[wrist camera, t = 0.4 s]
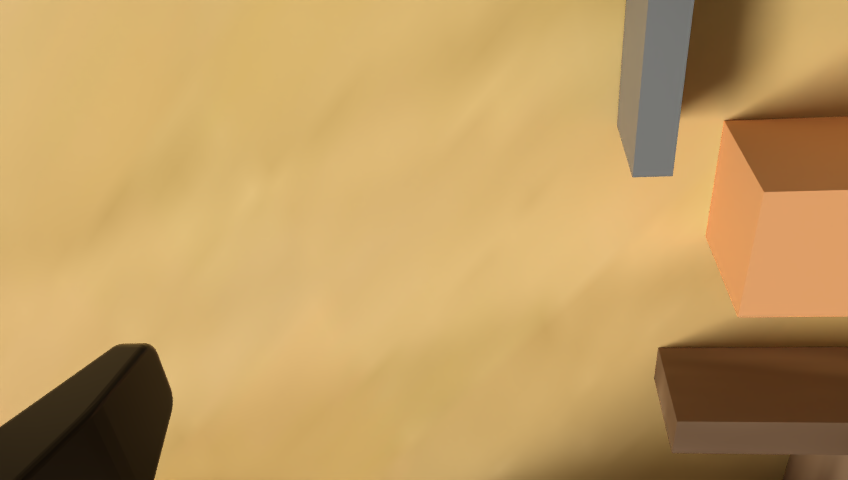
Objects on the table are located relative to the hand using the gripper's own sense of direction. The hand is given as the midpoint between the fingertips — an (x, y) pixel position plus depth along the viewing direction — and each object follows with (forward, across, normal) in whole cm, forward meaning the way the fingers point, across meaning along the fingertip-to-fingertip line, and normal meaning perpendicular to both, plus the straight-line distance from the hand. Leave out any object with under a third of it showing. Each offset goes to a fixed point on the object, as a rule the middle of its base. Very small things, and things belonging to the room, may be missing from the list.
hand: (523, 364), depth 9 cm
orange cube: (+14, -8, +6) cm, 17 cm away
